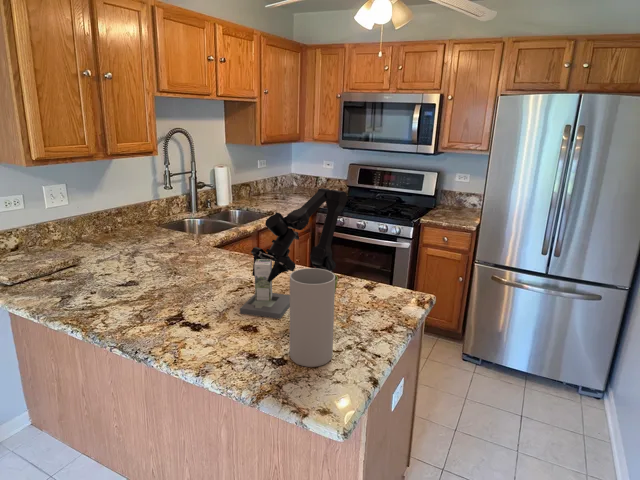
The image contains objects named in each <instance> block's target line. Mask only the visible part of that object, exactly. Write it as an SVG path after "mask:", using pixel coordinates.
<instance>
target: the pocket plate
mask: <svg viewBox="0 0 640 480" xmlns="http://www.w3.org/2000/svg"><path fill="white" fill-rule="evenodd" d="M289 310H290V294H284V293H277V292H276V293H275V292H272V298H271V301H255V293H254V294H253V295H252V296H251V297H250V298H248V300H247V301H246V302H244V303H243V304H242V306H241V307H239V314H243V315H250V316H255V317H263V318H270V319H278V320H281V319H282V318H283V316H284V315H285V314H286V313H287V311H289Z"/></svg>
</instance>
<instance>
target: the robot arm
mask: <svg viewBox="0 0 640 480" xmlns="http://www.w3.org/2000/svg"><path fill="white" fill-rule="evenodd" d="M347 202H348V195H347V192H346V191H344V190H339V189H338V190H337V189H329V188H323V187H320V188H318V190H317V192H316V193H314V194H313V196H311V197H310V198H309V199H308V200H307V201H306V202H305V203H304V204H303V205H301V207H299V208H297V209H293V210H292V211H291V212H290V211H289V213H288V214H286V216H283V215H282V213H281V212H275V214H272V215H270V216H269V217H268V218H267V219H266V220H265V227H267V229H268V230H269V231H270V232H271V233H272V234H273V235H274V236H276V239H272V241H271V243H272V244H271V246H270V247H269V248H267V249H266V250H264V249H263V248H261V247H258V246H254V247H252V249H251V250H250V253H251V254H252V256H253V267H252V273H251V275H252V276H253V277H255V269H254V265H255V261H256V259H271V260H272V262H274V264H272V270H271V272H270V275H269V277H268V282H271V281H272V282H273V280H275V278H277V277H278V276H279V275H280V274H282V273H286V272H287V273H289V271H290V272H294V271H295V269H296V263H295V262H294V261H293V260H292V258H291V257H290V256H289V254H290V251H291V250H290V249H289V248H290V247H291V245H292V244H293V242H294V240H300V236H299V232H298V231H303V230H304V229H305V228H306V226H307V225H308V224H309V222H310V217H311V216H312V215H314V213H316V212H317V210H318V209H320V208H321V206H322V205H324V203H325V204H326V209H327V212H326V215H325V219H324V223H323V226H322V230H321V234H320V238H319V242H318V244H317V245H316V246H312V247H311V253H310V255H309V256H310V261H311V265H312V267H313V268H318V269H324V270H328V271H330V272H332V273H333V271H334V270H335V269H336V267H337V262H335V261H334V260H333V251H332V247H331V245H332V242H333V238H334V235H335V231H336V226H337V223H338V219H339V215H340V213H341V212H342V210H343V209H344V208H346V207H345V206H346V205H347ZM295 230H297V231H295Z"/></svg>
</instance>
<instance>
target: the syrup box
mask: <svg viewBox="0 0 640 480" xmlns="http://www.w3.org/2000/svg"><path fill="white" fill-rule="evenodd" d="M272 268H273V261H272V260H271V259H256V261H255V265H254V269H255V276H254V294H255V301H271V298H272V293H273V280H272V281H271V282H268V277H269V275H270V272H271V270H272Z"/></svg>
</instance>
